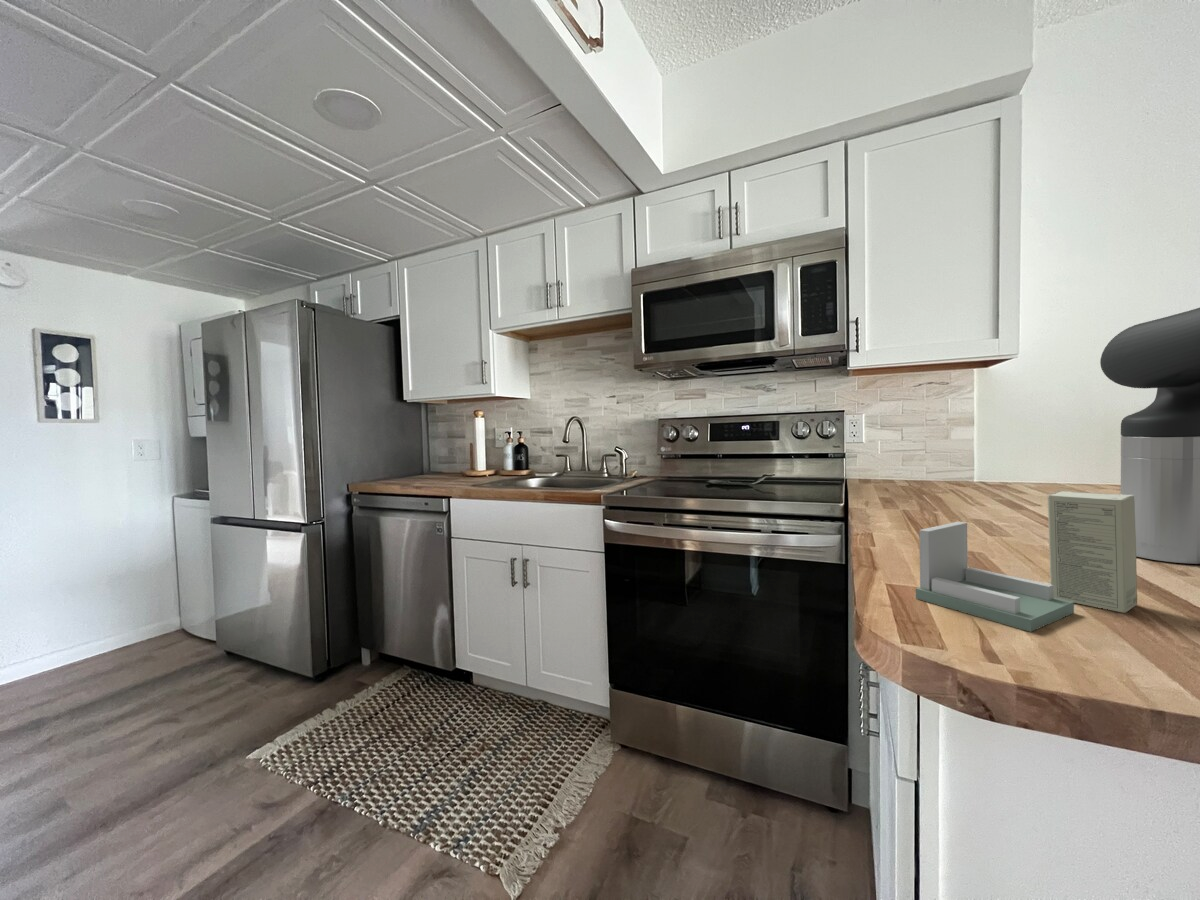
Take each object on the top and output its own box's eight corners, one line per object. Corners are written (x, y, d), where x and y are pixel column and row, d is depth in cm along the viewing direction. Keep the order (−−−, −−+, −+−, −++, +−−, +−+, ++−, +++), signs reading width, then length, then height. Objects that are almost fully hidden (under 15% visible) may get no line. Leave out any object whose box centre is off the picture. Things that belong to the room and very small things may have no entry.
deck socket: (959, 584, 61) (958, 520, 61) (1074, 613, 51) (1074, 536, 51) (916, 598, 57) (915, 530, 57) (1030, 632, 47) (1030, 549, 47)
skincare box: (1138, 605, 52) (1139, 494, 52) (1125, 615, 50) (1125, 499, 50) (1061, 590, 58) (1061, 489, 57) (1046, 597, 56) (1046, 493, 55)
